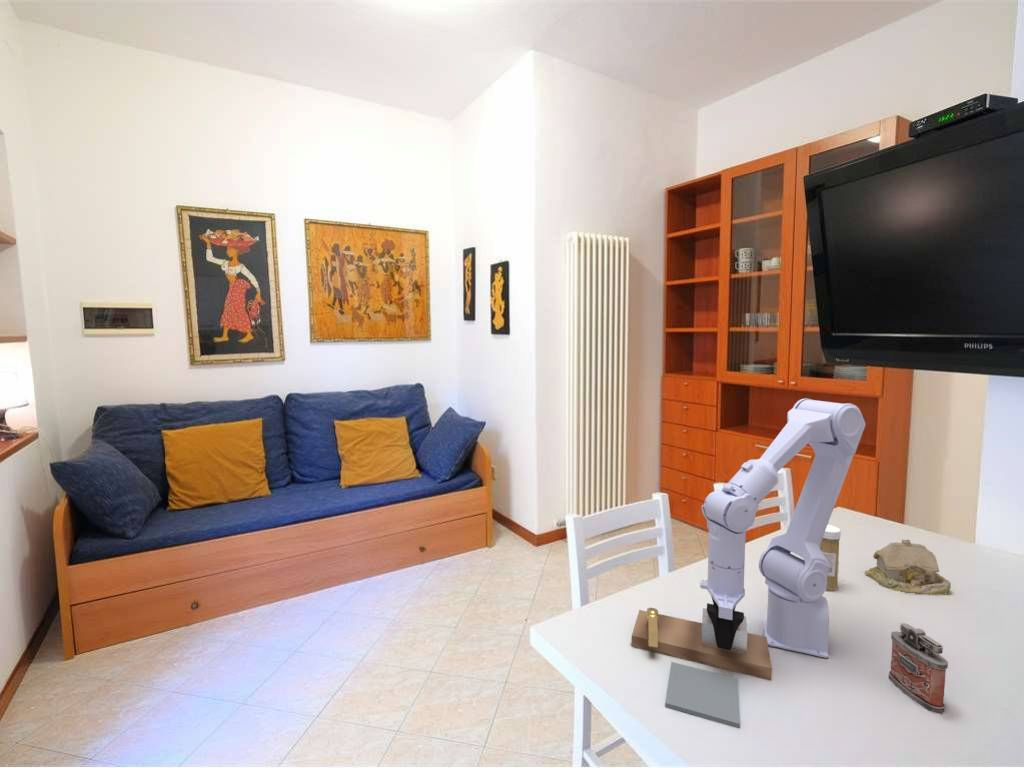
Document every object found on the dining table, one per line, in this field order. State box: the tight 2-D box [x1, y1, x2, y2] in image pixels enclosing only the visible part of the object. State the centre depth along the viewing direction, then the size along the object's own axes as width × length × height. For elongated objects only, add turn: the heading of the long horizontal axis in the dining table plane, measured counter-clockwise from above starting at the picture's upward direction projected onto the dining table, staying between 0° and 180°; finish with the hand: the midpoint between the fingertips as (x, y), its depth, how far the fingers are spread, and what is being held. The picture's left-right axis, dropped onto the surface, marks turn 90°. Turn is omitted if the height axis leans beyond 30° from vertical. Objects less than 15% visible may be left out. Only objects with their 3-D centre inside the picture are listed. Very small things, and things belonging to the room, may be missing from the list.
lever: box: [646, 607, 659, 647], centre depth 85 cm, size 8×2×3 cm, turn 165°
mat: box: [664, 661, 741, 729], centre depth 73 cm, size 10×10×1 cm
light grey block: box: [701, 607, 749, 655], centre depth 82 cm, size 7×5×4 cm
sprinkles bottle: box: [819, 524, 841, 592], centre depth 105 cm, size 5×5×14 cm
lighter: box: [888, 622, 949, 714], centre depth 72 cm, size 8×3×10 cm, turn 5°
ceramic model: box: [864, 539, 952, 596], centre depth 107 cm, size 14×11×10 cm
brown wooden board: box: [631, 609, 773, 681], centre depth 84 cm, size 22×9×2 cm, turn 66°
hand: (723, 637), depth 83 cm, fingers open, 6 cm apart
